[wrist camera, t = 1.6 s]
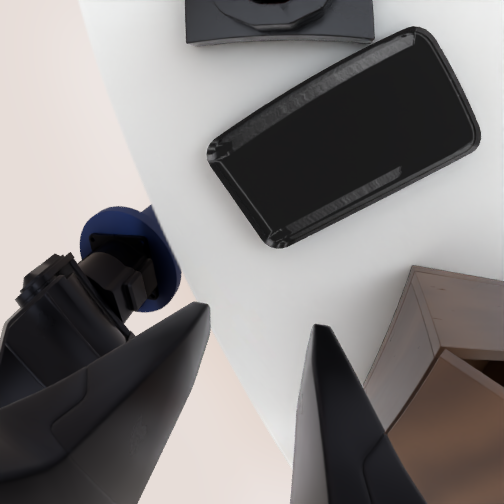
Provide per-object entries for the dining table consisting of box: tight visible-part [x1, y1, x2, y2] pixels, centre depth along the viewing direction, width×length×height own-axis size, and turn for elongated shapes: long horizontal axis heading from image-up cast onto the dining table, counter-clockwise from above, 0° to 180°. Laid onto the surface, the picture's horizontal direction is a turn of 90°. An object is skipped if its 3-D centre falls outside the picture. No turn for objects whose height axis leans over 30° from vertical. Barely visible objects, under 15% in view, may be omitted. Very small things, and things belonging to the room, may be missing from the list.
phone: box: [207, 26, 481, 248], centre depth 17 cm, size 8×1×15 cm
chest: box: [363, 265, 504, 434], centre depth 19 cm, size 12×13×8 cm
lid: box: [387, 349, 504, 504], centre depth 12 cm, size 12×13×1 cm
